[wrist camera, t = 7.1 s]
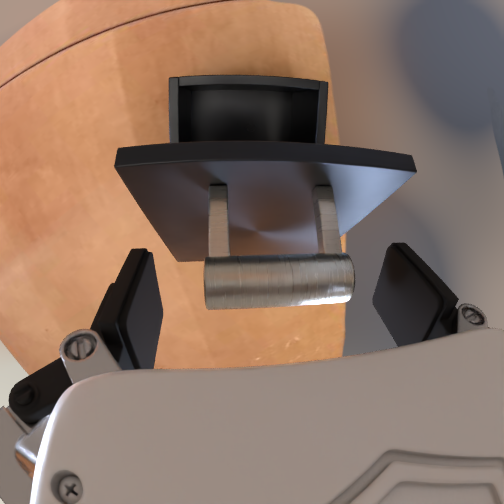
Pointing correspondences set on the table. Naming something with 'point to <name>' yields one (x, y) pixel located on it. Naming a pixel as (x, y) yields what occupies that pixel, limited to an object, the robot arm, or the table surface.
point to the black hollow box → (247, 109)
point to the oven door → (262, 213)
